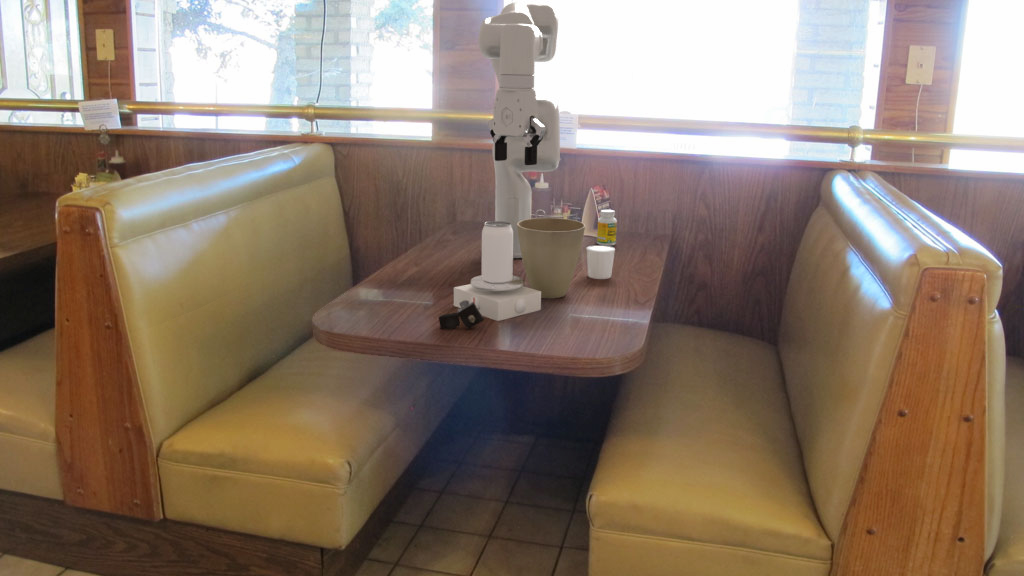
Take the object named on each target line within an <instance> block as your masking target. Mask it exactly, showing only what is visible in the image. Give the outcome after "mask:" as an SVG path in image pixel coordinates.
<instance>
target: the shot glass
mask: <svg viewBox="0 0 1024 576" xmlns="http://www.w3.org/2000/svg"><path fill="white" fill-rule="evenodd" d="M615 253H616V249H615V247H613V246H603V245H599V244H596V245H595V244H594V245H589V246H587V247H586V261H587V264H586V265H587V276H588V277H589V278H591V279H594V280H606V279H610V278H612V272H613V266H614V259H615Z"/></svg>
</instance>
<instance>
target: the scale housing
mask: <svg viewBox="0 0 1024 576" xmlns="http://www.w3.org/2000/svg"><path fill="white" fill-rule="evenodd" d="M464 300H465V301H466V300H468V301H469V304H470V303H472V302H473V303H474V304H475V306H476V307H477V309H478V311H479V312H480V314H481V315H482V316H483V317H484V318H488V319H491V320H494V321H496V322H499V321H503V320H507V319H511V318H515V317H519V316H522V315H528V314H531V313H534V312H539V311H541V309H542V298H541V291H538V290H534V289H531V287H528V286H524V285H523V287H521V288H519V289H516V290H511V291H485V290H480V289H476V288H474V287H472V286H471V283H469V284H465V285H459V286H455V287H453V306H454V307H456V308H458V309H461V306H460V304H459V303H460V302H462V301H464Z"/></svg>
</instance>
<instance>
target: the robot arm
mask: <svg viewBox="0 0 1024 576" xmlns="http://www.w3.org/2000/svg"><path fill="white" fill-rule="evenodd" d="M558 30H559V18H558V14H557V10H556V9H555V7H554V6H553V5H552V4H551V3H547V2H520V1H519V2H512V3H509V4H507V5H505V6H504V7H503V8H502V10H501V12H500V14H498V15H493V16H489V17H486V18H485V19H484V20H482V22H481V25H480V28H479V30H478V31H479V33H478V38H477V39H478V40H477V42H478V49H479V53H480V54H481V56H482V57H484V58H485V59H490V61H491V65H492V67H493V71H494V73H495V75H496V79H497V84H498V89H497V90H496V94H495V99H494V105H493V117H492V119H491V120H490V121H488V123H487V125H488V128H489V133H490V135H491V137H492V142H493V143H492V148H491V149H492V160H493V166H494V178H495V183H494V184H495V192H494V193H495V201H494V202H495V203H494V205H495V207H494V208H495V213H494V214H495V216H494V217H495V218H494V221H504V222H509V223H511V228H512V230H513V259H522V255H521V250H520V244H519V237H518V229H517V223H518V222H519V221H522V220H526V219H532V193H533V192H532V187H531V184H530V182H529V181H528V180H527V179H526V178H525V177H526V176H524V175H523V174H522V173H524V172H535V173H536V172H539V173H541V172H553V171H555V170H556V169H557V168H558V167H559V164H560V159H561V155H560V154H561V145H560V144H561V142H560V141H561V139H560V137H561V136H560V132H561V131H560V110H559V106H558V102H556V100H555V99H554V98H552V97H548V96H547V97H546V96H537V95H536V90H535V63H539V62H540V63H545V62H549V61H551V60H552V59H554V57H555V55H556V50H557V49H556V48H557V40H558Z"/></svg>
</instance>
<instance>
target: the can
mask: <svg viewBox="0 0 1024 576" xmlns="http://www.w3.org/2000/svg"><path fill="white" fill-rule="evenodd" d="M483 225H484V226H483V228H482V230H481V275H482V279H483V281H484V282H487V283H492V284H504V283H508V282H510V281H511V280H512V278H513V276H514V275H513V272H514V270H513V269H514V268H513V267H514V258H513V230H512V228H511V223H509V222H504V221H495V220H494V221H493V220H491V221H486V222H484V223H483Z"/></svg>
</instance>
